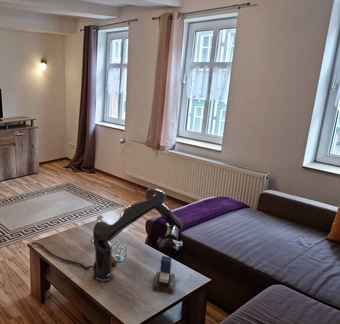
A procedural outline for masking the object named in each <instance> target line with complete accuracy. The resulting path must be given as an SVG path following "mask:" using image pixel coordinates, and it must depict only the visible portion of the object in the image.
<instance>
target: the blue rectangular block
mask: <svg viewBox="0 0 340 324" xmlns="http://www.w3.org/2000/svg"><path fill="white" fill-rule="evenodd" d="M171 267H172V257H171V256H165V255H162V256H161V259H160V270H159V271H160V278H159V285H162V286H167V287H168V285H169V279H170V274H171V270H172V268H171Z"/></svg>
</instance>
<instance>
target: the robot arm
mask: <svg viewBox="0 0 340 324" xmlns="http://www.w3.org/2000/svg"><path fill="white" fill-rule="evenodd" d="M144 198H145V200H143V201H138V202H133V203H131V204H129V205H128V206H126V207H124V209H122V211H121V213H120V215H119V218H118V219H117V220H116V221H115V222H113V223H112V224H109V223H108V222H106V221H104V220H103V221H99V222H97V223H96V222H95V224H94V226H93V228H92V229H93V231H92V235H93V237H92V240H93V239H94V243H93V246H94V251H95V252H94V256H95V257H94V258H95V260H94V263H93V265H89V266H88V267H86V266H85V265H84V264H82V263H81V262H78V261H75V260H69V259H65V258H62V257H60V256H58V255H56V254H54V253H52V252H51V251H49V250H48V249H47V248H46V247H45V246H44V245H42V244H40V243H38V242H36V241H35V242H32V243H31V245H37V246H39V247H41V248H42V249H44V250H45V251H46V252H47V253H48V254H50V255H51V256H53V257H55V258H57V259H59V260H62V261H64V262H68V263H73V264H77V265H79V266H81V267H82V268H84V269H85V270H89V269H90V268H92V271H93V278H94V279H96V280H97V281H99V282H108V281H110V280H111V279H112V278H113V272H112V271H113V246H112V243H111V242H110V241H113V240H114V239H115V238H116V237H117V236H118V235H119V234H120V233H122V232H123V231H124V230H125V229H127V228H128V227H129V226H130V225H132V224H134V223H135V222H136V221H138V220H140V218H142V217H143V216H145V215H146V214H148V213H150V212H151V211H152V210H156V211H157V213H158V214H159V215H160V216H161V218H162V219H163V220H164V222H165V226H166V227H165V228H166V232H165V235H164V238H162V237H158V239H157V242H156V246H157V247H159V250H160V251H162V250H163V247H164V248H165V247H173V248H174V249H175V253H178V252H179V250H180V251H182V250H183V241H182V240H180V241H179V231H180V230H181V229H182V228H183V225H184V224H183V221H182V220H181V218H179V217H178V216H177V215H175V214H174V213H173V211H172V210H171V209H170V208H169V207H168V206H167V205H166V204H164V203H165V201H166V200H167V194H166V193H165V192H164V191H163V190H160V189H158V188H154V187H153V188H152V187H151V188H148V189H147V190H146V191H145V193H144Z"/></svg>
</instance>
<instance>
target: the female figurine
mask: <svg viewBox="0 0 340 324" xmlns="http://www.w3.org/2000/svg"><path fill="white" fill-rule="evenodd" d="M99 221H104V215H103V214H101V213H99V214H98V216H97V217H96V219H95V224H96V223H97V222H99ZM88 228H92V229H93V226H89V225H88ZM91 241H92V243H93V244H94V239H93V238H92V239H91Z"/></svg>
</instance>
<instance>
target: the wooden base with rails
mask: <svg viewBox="0 0 340 324" xmlns="http://www.w3.org/2000/svg"><path fill="white" fill-rule="evenodd" d="M159 278H160V270H158V271H156V273H155V277H154V282H153V289H152V290H153V291H156V292H161V293H162V292H163V293H165V294H173V293H174V285H175V279H176V274H174V273H172V272H171V273H170V279H169V285H168V287H167V286H162V285H159Z"/></svg>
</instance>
